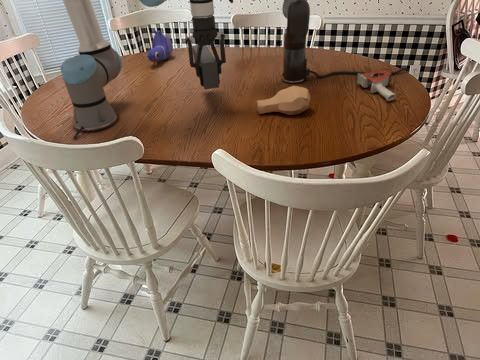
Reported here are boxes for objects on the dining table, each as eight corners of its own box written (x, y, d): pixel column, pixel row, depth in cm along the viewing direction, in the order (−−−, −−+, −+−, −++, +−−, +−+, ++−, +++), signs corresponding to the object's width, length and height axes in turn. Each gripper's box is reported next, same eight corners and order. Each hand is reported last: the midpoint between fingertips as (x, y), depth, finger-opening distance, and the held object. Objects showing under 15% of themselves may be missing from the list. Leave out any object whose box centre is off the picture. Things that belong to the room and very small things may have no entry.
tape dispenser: (391, 107, 134) (404, 85, 146) (394, 94, 130) (407, 73, 143) (345, 96, 141) (361, 77, 154) (348, 84, 138) (364, 65, 150)
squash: (314, 116, 128) (313, 95, 122) (259, 125, 130) (256, 105, 124) (308, 99, 136) (307, 78, 129) (257, 108, 138) (253, 88, 131)
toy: (161, 62, 200) (141, 68, 178) (157, 30, 193) (135, 32, 171) (177, 61, 198) (159, 67, 176) (173, 29, 191) (154, 30, 169)
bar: (219, 87, 129) (216, 61, 123) (204, 89, 128) (201, 63, 122) (207, 67, 147) (205, 44, 141) (195, 69, 146) (192, 45, 140)
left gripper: (227, 10, 122) (231, 77, 135) (174, 16, 118) (184, 83, 132) (232, 15, 116) (236, 83, 129) (176, 21, 113) (186, 91, 126)
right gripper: (256, -52, 128) (257, -2, 138) (218, -49, 126) (222, 1, 135) (263, -51, 122) (263, 1, 132) (222, -48, 120) (226, 5, 129)
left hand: (210, 83), depth 131 cm, fingers closed on bar, 5 cm apart
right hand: (242, 1), depth 133 cm, fingers open, 8 cm apart
